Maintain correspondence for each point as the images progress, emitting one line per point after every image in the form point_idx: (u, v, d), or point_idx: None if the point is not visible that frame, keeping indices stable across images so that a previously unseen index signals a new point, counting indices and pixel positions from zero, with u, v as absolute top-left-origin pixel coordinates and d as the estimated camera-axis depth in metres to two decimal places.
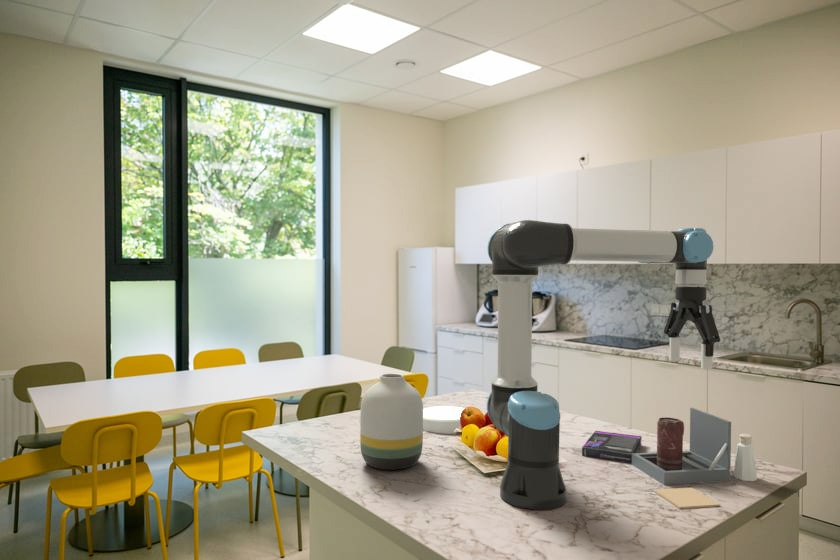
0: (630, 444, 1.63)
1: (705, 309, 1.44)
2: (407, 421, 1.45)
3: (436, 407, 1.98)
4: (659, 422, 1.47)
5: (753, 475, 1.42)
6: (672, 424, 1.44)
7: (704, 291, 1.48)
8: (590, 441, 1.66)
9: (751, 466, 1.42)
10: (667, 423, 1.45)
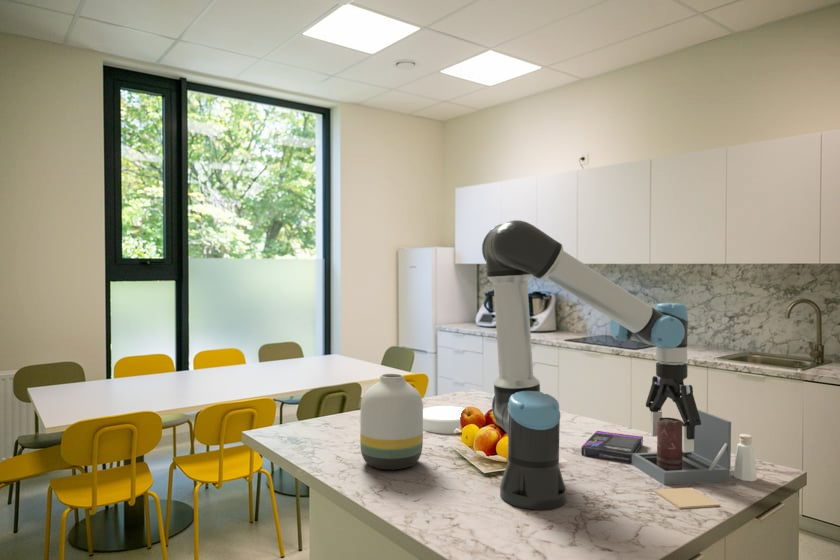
0: (630, 444, 1.63)
1: (685, 390, 1.40)
2: (407, 421, 1.45)
3: (436, 407, 1.98)
4: (659, 422, 1.47)
5: (753, 475, 1.42)
6: (672, 424, 1.44)
7: (685, 369, 1.44)
8: (590, 441, 1.66)
9: (751, 466, 1.42)
10: (667, 423, 1.45)
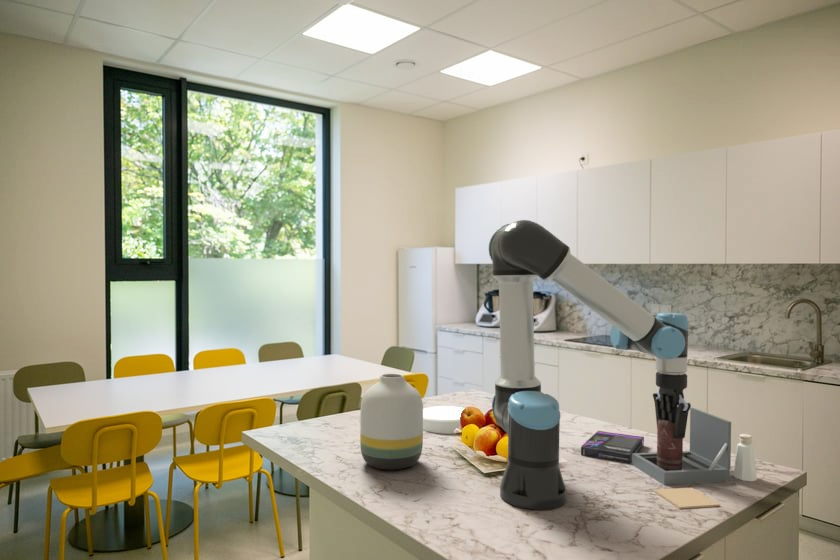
0: (630, 444, 1.62)
1: (682, 408, 1.41)
2: (407, 421, 1.45)
3: (436, 407, 1.98)
4: (659, 422, 1.47)
5: (753, 475, 1.42)
6: (672, 424, 1.44)
7: (685, 379, 1.44)
8: (590, 441, 1.66)
9: (751, 466, 1.42)
10: (667, 423, 1.45)
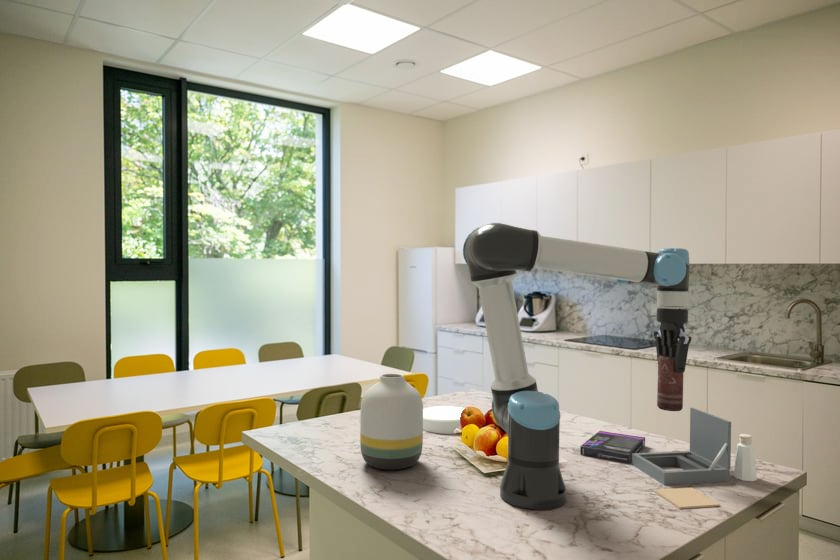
0: (630, 444, 1.62)
1: (683, 341, 1.41)
2: (407, 421, 1.45)
3: (436, 407, 1.98)
4: (660, 357, 1.47)
5: (753, 475, 1.42)
6: (673, 358, 1.44)
7: (685, 313, 1.44)
8: (591, 440, 1.66)
9: (751, 466, 1.42)
10: (668, 358, 1.45)
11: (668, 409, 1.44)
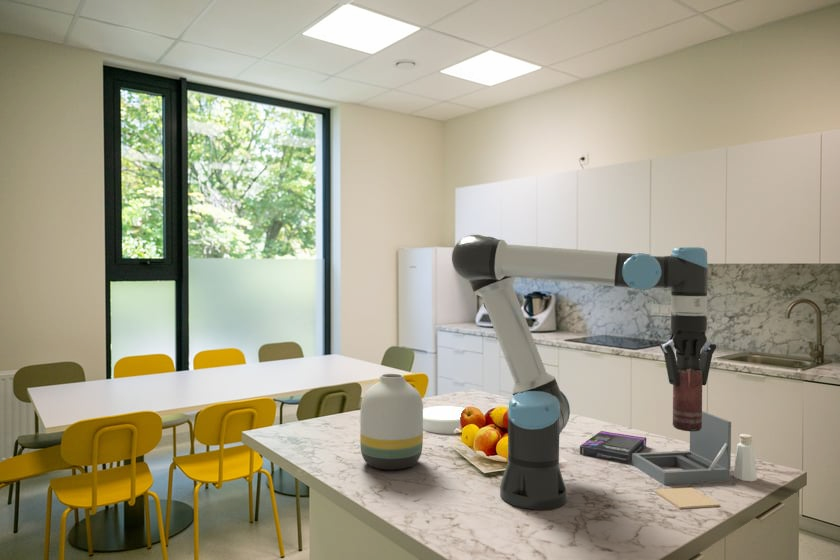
0: (630, 444, 1.62)
1: (662, 349, 1.30)
2: (407, 421, 1.45)
3: (436, 407, 1.98)
4: None
5: (753, 475, 1.42)
6: None
7: (679, 320, 1.28)
8: (591, 440, 1.66)
9: (751, 466, 1.42)
10: None
11: None
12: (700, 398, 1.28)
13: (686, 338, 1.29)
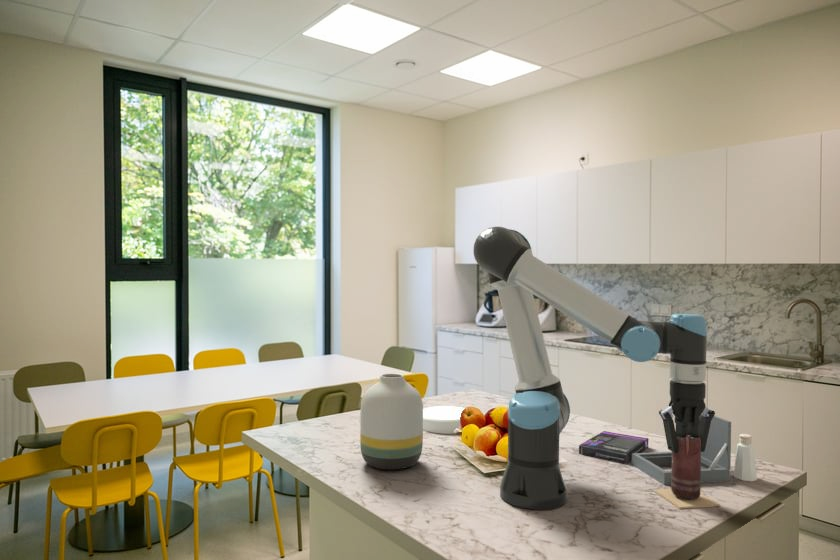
0: (630, 445, 1.62)
1: (661, 416, 1.30)
2: (407, 421, 1.45)
3: (436, 407, 1.98)
4: None
5: (753, 475, 1.42)
6: None
7: (678, 388, 1.28)
8: (591, 440, 1.67)
9: (751, 466, 1.42)
10: None
11: None
12: (699, 466, 1.28)
13: (685, 405, 1.29)
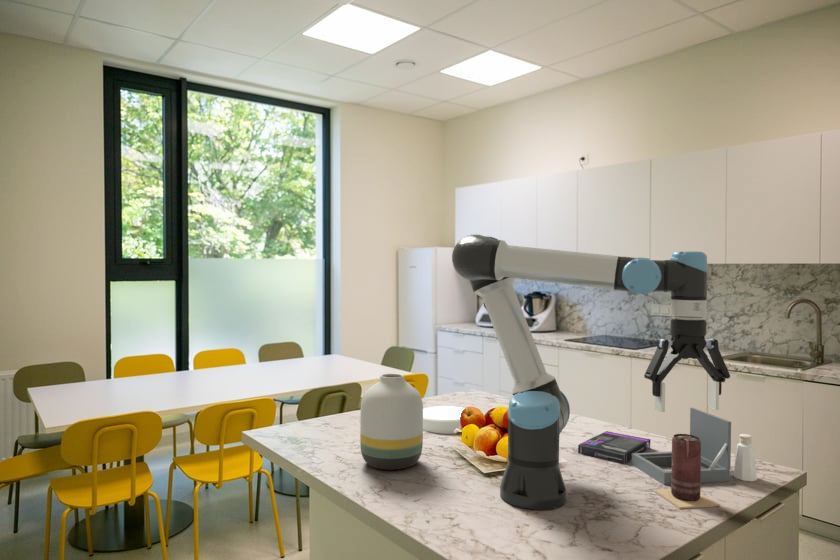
0: (630, 445, 1.61)
1: (658, 343, 1.30)
2: (407, 421, 1.45)
3: (436, 407, 1.98)
4: None
5: (753, 475, 1.42)
6: (673, 438, 1.31)
7: (679, 324, 1.28)
8: (591, 440, 1.67)
9: (751, 466, 1.42)
10: None
11: None
12: (699, 468, 1.28)
13: (685, 342, 1.29)
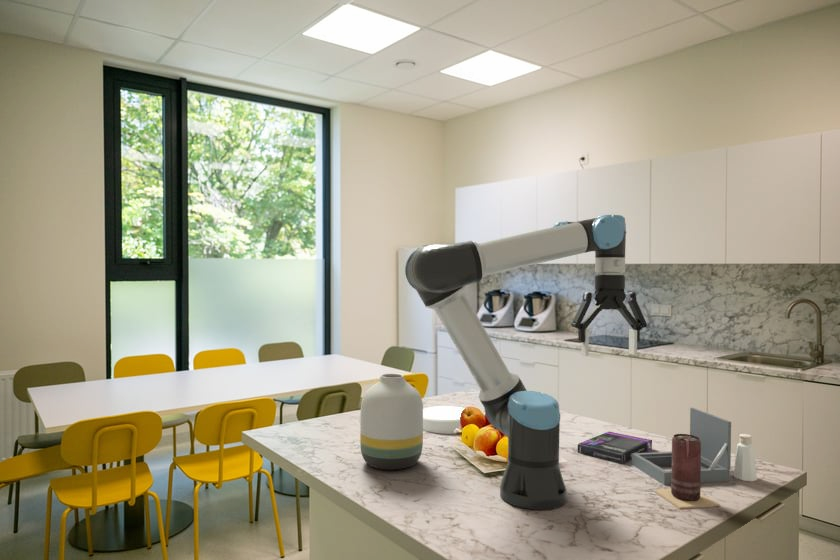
0: (630, 445, 1.61)
1: (583, 296, 1.48)
2: (407, 421, 1.45)
3: (436, 407, 1.98)
4: None
5: (753, 475, 1.42)
6: (673, 438, 1.31)
7: (600, 279, 1.46)
8: (592, 440, 1.67)
9: (751, 466, 1.42)
10: None
11: None
12: (699, 468, 1.28)
13: (607, 295, 1.47)
